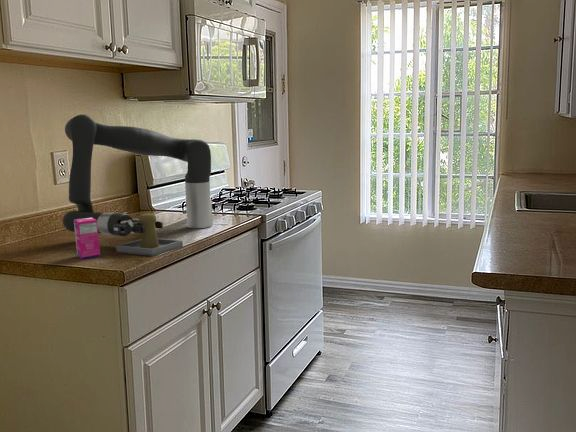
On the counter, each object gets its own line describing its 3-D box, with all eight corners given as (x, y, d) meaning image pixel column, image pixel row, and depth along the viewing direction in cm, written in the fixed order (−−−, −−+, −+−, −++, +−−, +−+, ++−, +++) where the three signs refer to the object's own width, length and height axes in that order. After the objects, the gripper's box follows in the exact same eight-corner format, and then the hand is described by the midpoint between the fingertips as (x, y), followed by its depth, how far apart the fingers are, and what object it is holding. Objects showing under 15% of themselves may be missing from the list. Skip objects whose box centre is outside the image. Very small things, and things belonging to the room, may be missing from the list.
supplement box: (76, 256, 182) (73, 219, 181) (96, 253, 185) (93, 217, 184) (80, 259, 177) (77, 221, 176) (100, 256, 181) (98, 219, 179)
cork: (151, 245, 194) (149, 211, 192) (163, 247, 190) (161, 213, 188) (136, 248, 189) (133, 214, 187) (147, 250, 185) (145, 215, 184)
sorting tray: (148, 243, 199) (147, 237, 199) (182, 246, 192) (182, 240, 192) (116, 252, 187) (116, 245, 186) (152, 256, 180) (152, 249, 179)
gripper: (97, 216, 188) (136, 219, 181) (129, 209, 201) (167, 212, 193) (99, 239, 190) (138, 243, 182) (130, 231, 202) (168, 235, 194)
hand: (153, 227), depth 188 cm, fingers open, 8 cm apart
